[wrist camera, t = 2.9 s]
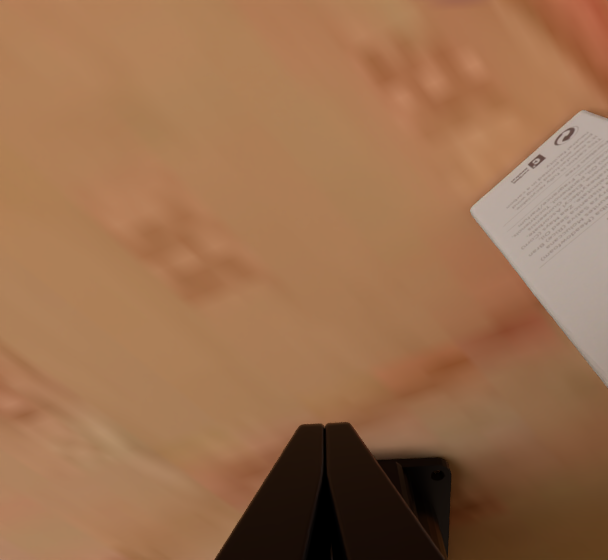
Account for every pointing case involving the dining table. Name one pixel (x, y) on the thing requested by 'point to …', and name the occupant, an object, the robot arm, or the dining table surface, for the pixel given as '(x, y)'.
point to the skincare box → (560, 230)
